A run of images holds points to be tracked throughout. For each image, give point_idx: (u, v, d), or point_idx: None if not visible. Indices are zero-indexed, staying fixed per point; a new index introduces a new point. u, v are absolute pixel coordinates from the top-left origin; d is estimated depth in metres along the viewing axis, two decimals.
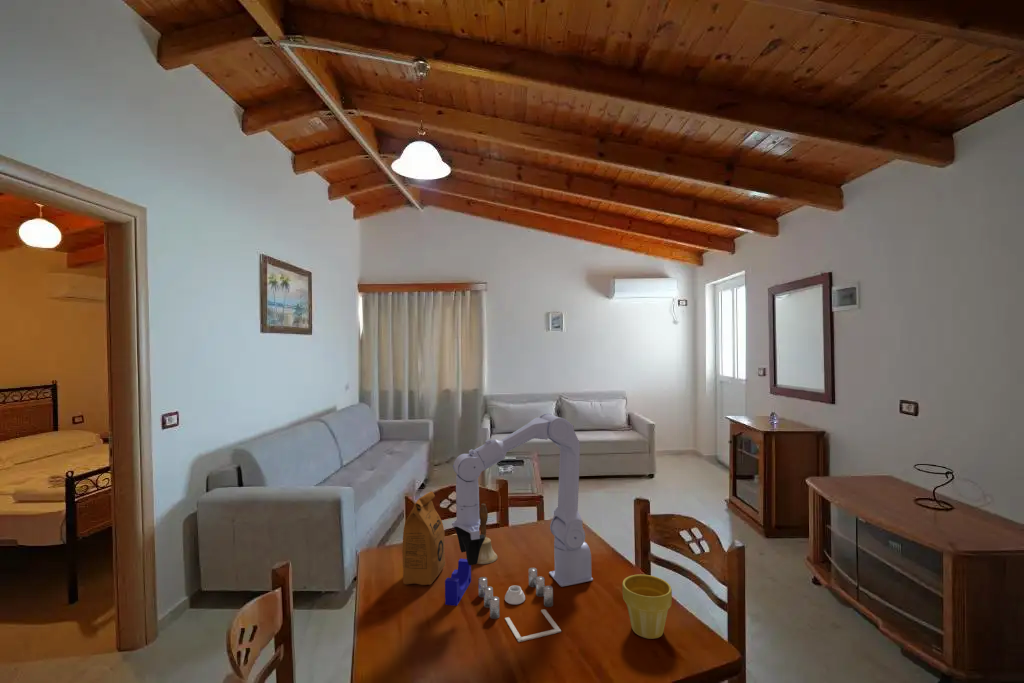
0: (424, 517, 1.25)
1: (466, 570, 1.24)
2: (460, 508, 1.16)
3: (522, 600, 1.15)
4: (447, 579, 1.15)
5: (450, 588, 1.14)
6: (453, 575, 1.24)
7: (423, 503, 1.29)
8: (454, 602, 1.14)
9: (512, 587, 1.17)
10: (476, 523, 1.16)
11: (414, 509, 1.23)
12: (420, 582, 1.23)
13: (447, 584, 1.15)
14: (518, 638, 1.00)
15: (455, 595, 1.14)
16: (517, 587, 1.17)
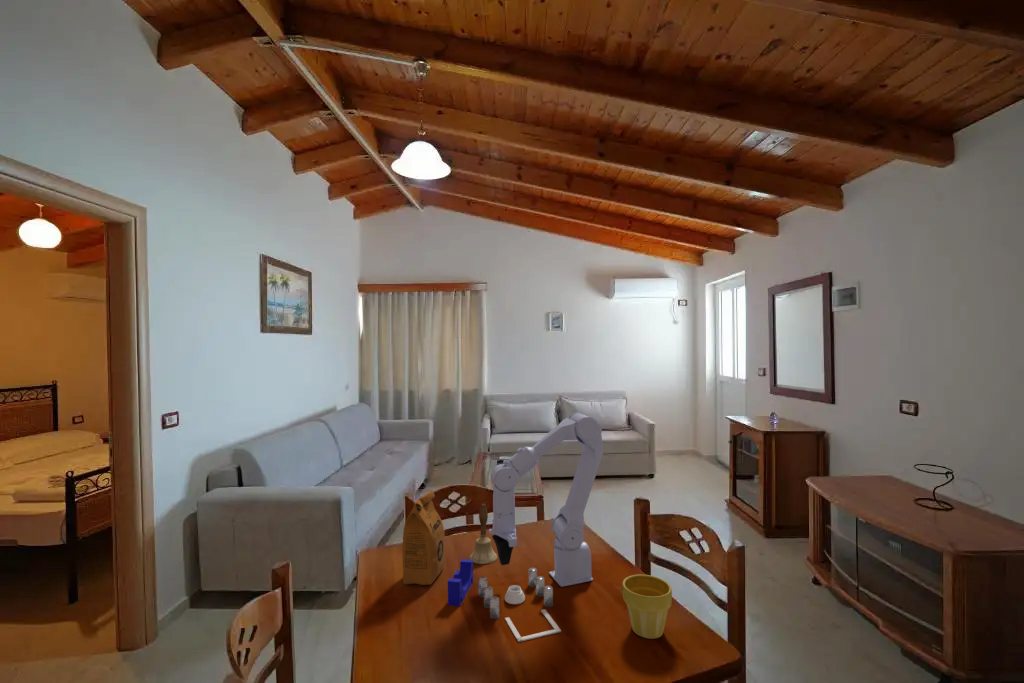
0: (424, 517, 1.25)
1: (468, 570, 1.24)
2: (497, 516, 1.21)
3: (522, 600, 1.15)
4: (450, 580, 1.15)
5: (453, 588, 1.14)
6: (455, 576, 1.24)
7: (423, 503, 1.29)
8: (457, 603, 1.14)
9: (512, 587, 1.17)
10: (512, 531, 1.22)
11: (414, 509, 1.23)
12: (420, 582, 1.23)
13: (450, 585, 1.14)
14: (518, 638, 1.00)
15: (458, 596, 1.14)
16: (517, 587, 1.17)
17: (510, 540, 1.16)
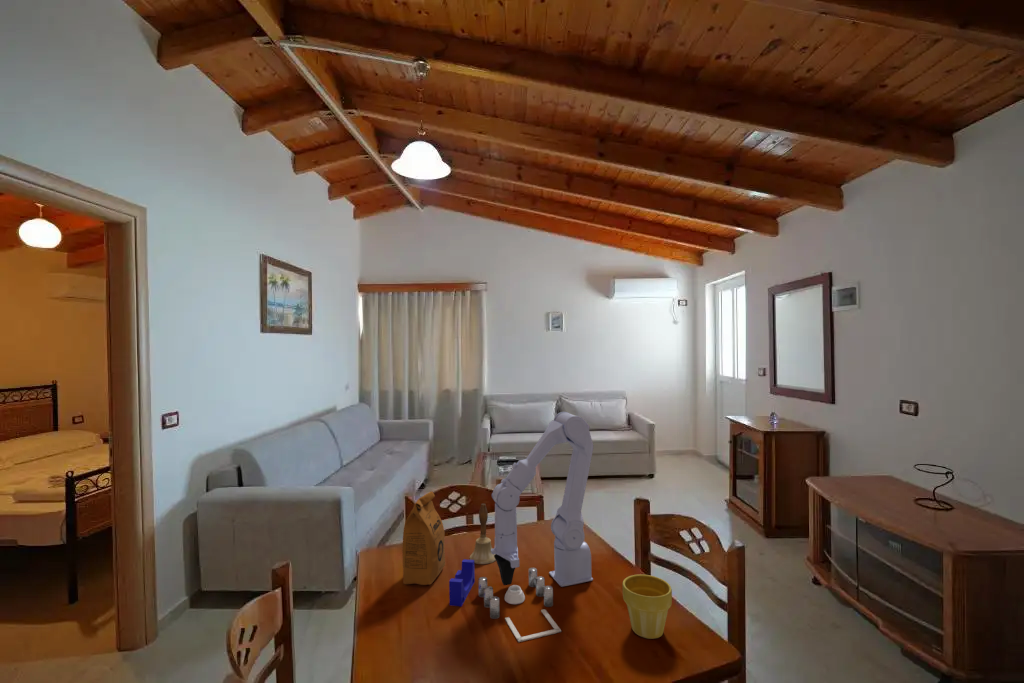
0: (424, 517, 1.25)
1: (470, 571, 1.24)
2: (499, 536, 1.20)
3: (522, 600, 1.15)
4: (451, 580, 1.15)
5: (454, 589, 1.14)
6: (457, 576, 1.23)
7: (423, 503, 1.29)
8: (458, 603, 1.14)
9: (512, 587, 1.18)
10: (514, 551, 1.20)
11: (414, 509, 1.23)
12: (420, 582, 1.23)
13: (451, 585, 1.14)
14: (518, 638, 1.00)
15: (459, 596, 1.14)
16: (517, 587, 1.17)
17: (512, 561, 1.15)
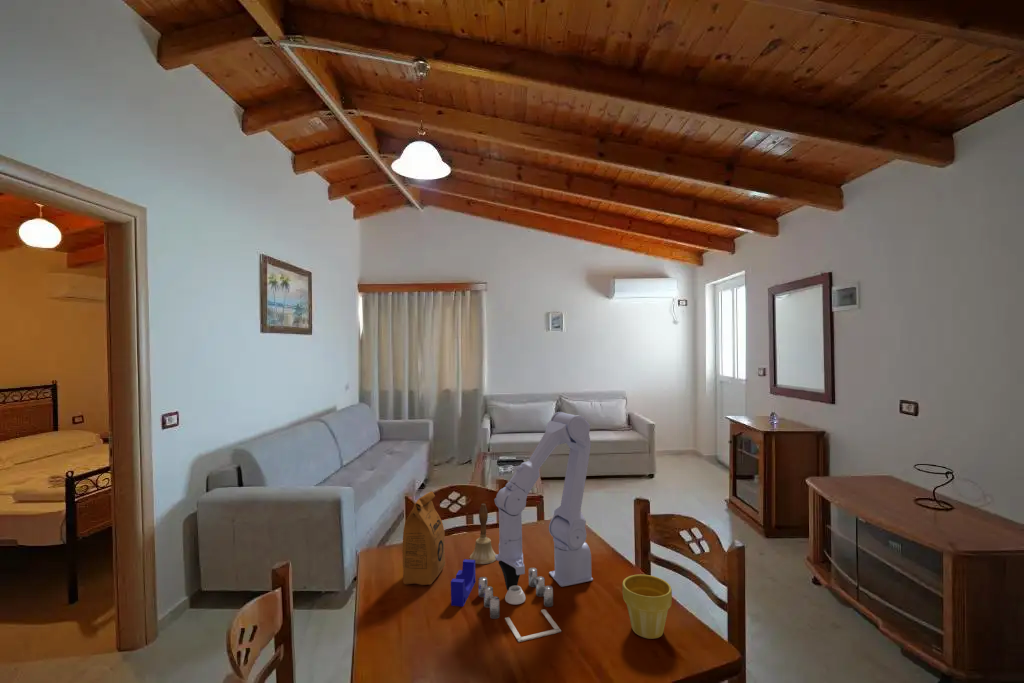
0: (424, 517, 1.25)
1: (471, 571, 1.24)
2: (504, 542, 1.16)
3: (522, 600, 1.14)
4: (453, 580, 1.15)
5: (456, 589, 1.14)
6: (458, 576, 1.23)
7: (423, 503, 1.29)
8: (460, 603, 1.14)
9: (512, 587, 1.17)
10: (520, 557, 1.17)
11: (414, 509, 1.23)
12: (420, 582, 1.23)
13: (453, 585, 1.14)
14: (518, 638, 1.00)
15: (461, 596, 1.14)
16: (517, 587, 1.17)
17: (517, 568, 1.12)
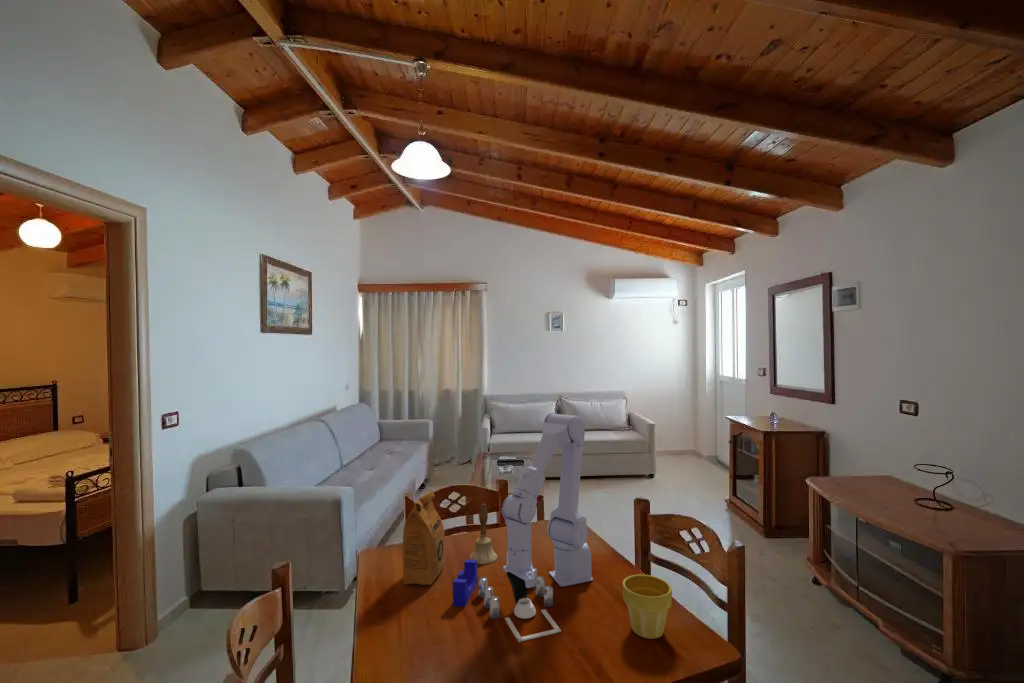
0: (424, 517, 1.25)
1: (472, 571, 1.24)
2: (512, 552, 1.10)
3: (533, 614, 1.08)
4: (455, 580, 1.15)
5: (458, 589, 1.14)
6: (459, 576, 1.23)
7: (423, 503, 1.29)
8: (462, 603, 1.14)
9: (522, 600, 1.11)
10: (529, 568, 1.11)
11: (414, 509, 1.23)
12: (420, 582, 1.23)
13: (455, 585, 1.14)
14: (518, 638, 1.00)
15: (463, 596, 1.14)
16: (527, 600, 1.11)
17: (527, 580, 1.06)
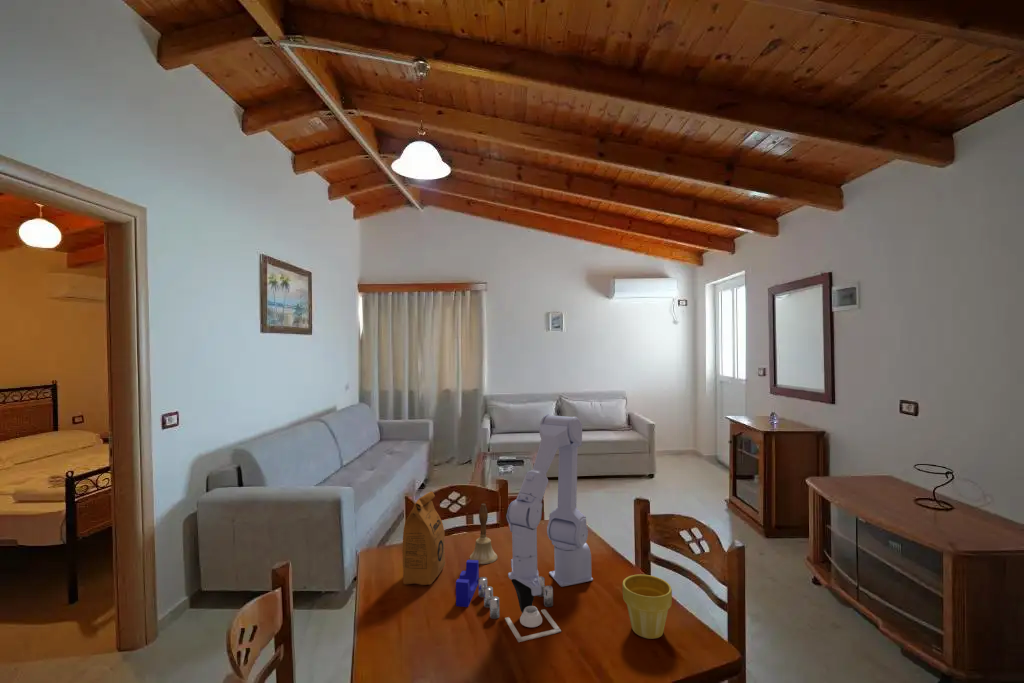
0: (424, 517, 1.25)
1: (474, 571, 1.23)
2: (518, 559, 1.07)
3: (539, 622, 1.05)
4: (458, 580, 1.14)
5: (461, 589, 1.14)
6: (461, 576, 1.23)
7: (423, 503, 1.29)
8: (465, 603, 1.14)
9: (527, 608, 1.08)
10: (535, 575, 1.07)
11: (414, 509, 1.23)
12: (420, 582, 1.23)
13: (458, 585, 1.14)
14: (518, 638, 1.00)
15: (466, 596, 1.14)
16: (533, 608, 1.08)
17: (533, 588, 1.02)
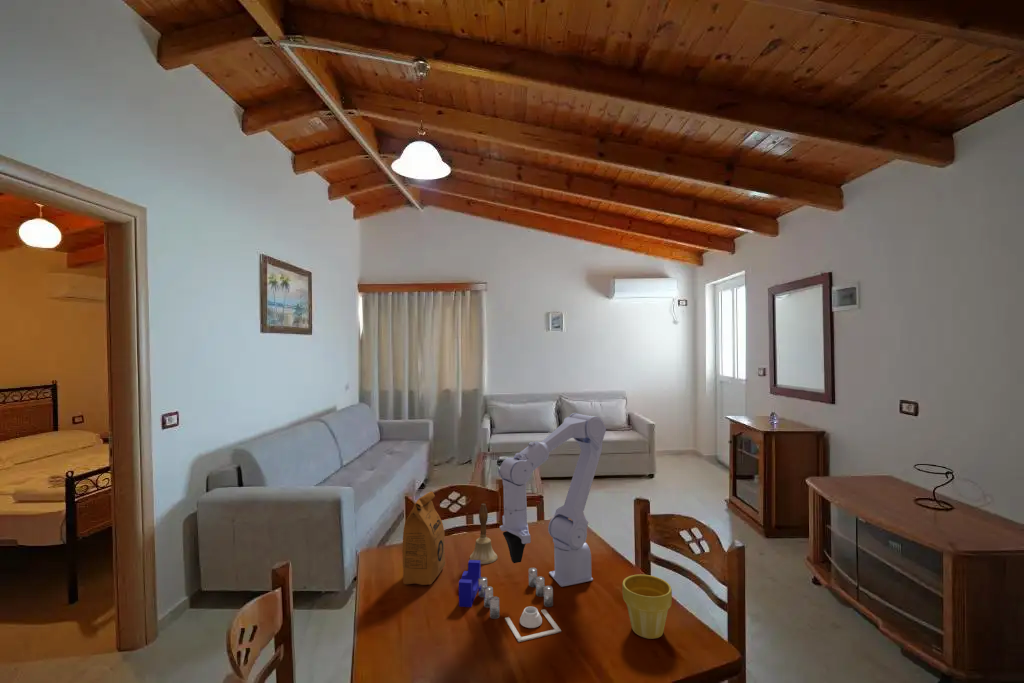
0: (424, 517, 1.25)
1: (476, 571, 1.23)
2: (509, 512, 1.15)
3: (539, 623, 1.05)
4: (460, 581, 1.14)
5: (464, 589, 1.14)
6: (463, 577, 1.23)
7: (423, 503, 1.29)
8: (468, 604, 1.13)
9: (527, 608, 1.08)
10: (525, 527, 1.16)
11: (414, 509, 1.23)
12: (420, 582, 1.23)
13: (461, 586, 1.14)
14: (518, 638, 1.00)
15: (469, 596, 1.13)
16: (533, 608, 1.08)
17: (523, 537, 1.11)
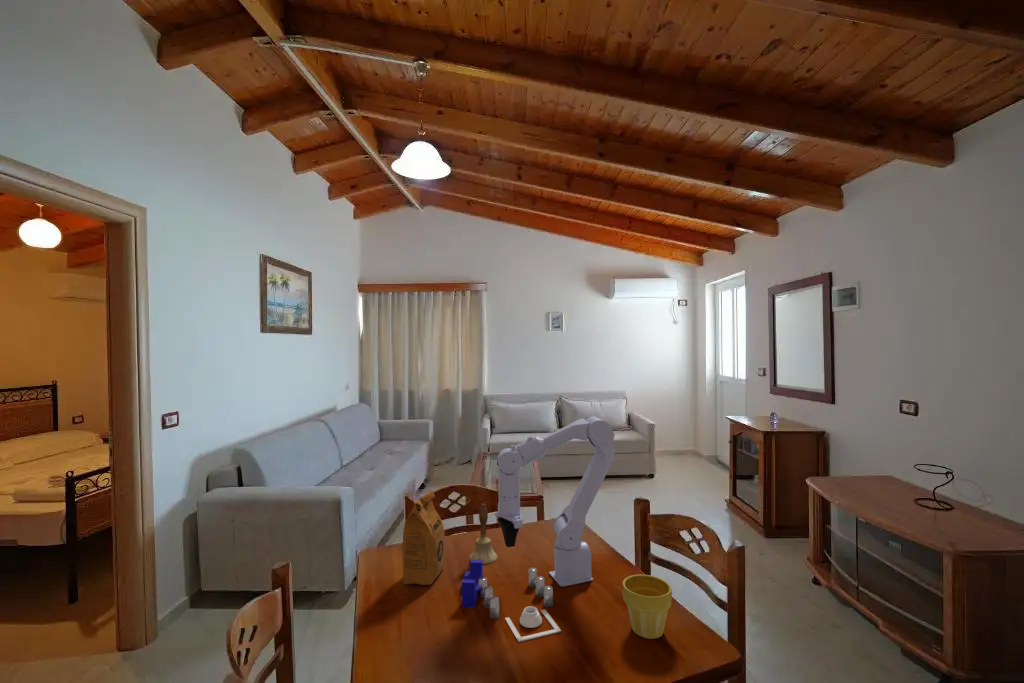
0: (424, 517, 1.25)
1: (479, 571, 1.23)
2: (503, 499, 1.23)
3: (539, 623, 1.05)
4: (464, 581, 1.14)
5: (467, 590, 1.13)
6: (466, 577, 1.23)
7: (423, 503, 1.29)
8: (471, 604, 1.13)
9: (527, 608, 1.08)
10: (518, 513, 1.24)
11: (414, 509, 1.23)
12: (420, 582, 1.23)
13: (464, 586, 1.14)
14: (518, 638, 1.00)
15: (472, 596, 1.13)
16: (533, 608, 1.08)
17: (515, 522, 1.18)
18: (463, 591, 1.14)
